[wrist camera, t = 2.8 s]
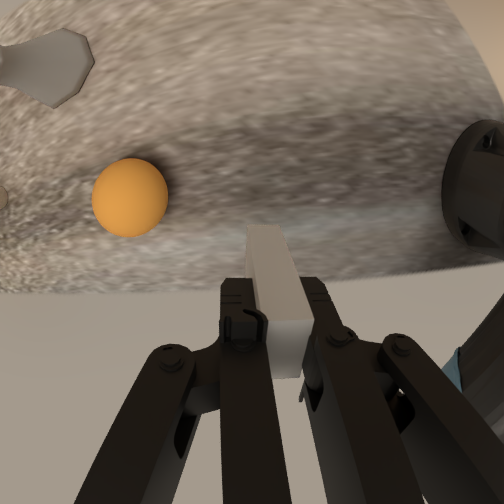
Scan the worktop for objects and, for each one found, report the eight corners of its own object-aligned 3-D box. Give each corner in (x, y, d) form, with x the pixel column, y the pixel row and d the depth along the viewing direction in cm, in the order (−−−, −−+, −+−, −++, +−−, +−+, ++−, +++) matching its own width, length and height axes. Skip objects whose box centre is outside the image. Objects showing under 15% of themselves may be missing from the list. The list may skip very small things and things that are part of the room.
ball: (173, 150, 23) (156, 166, 17) (175, 218, 25) (161, 252, 20) (106, 154, 22) (73, 171, 17) (112, 219, 25) (86, 250, 20)
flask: (54, 122, 20) (-20, 144, 11) (18, 76, 17) (-56, 83, 8) (108, 61, 18) (42, 47, 10) (67, 16, 15) (-2, -6, 7)
